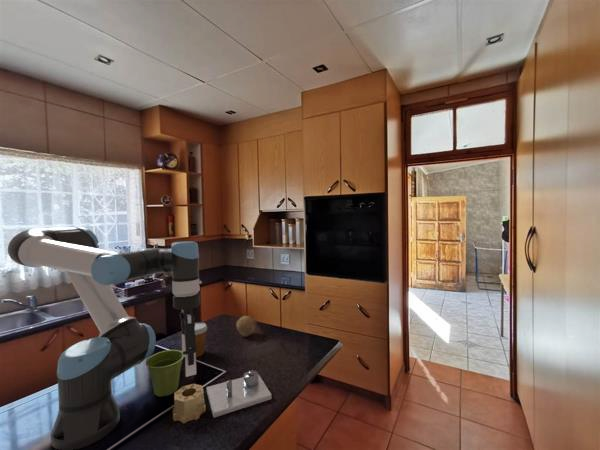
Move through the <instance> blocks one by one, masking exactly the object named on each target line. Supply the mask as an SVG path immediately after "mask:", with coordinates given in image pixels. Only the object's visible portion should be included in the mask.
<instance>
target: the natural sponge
mask: <svg viewBox="0 0 600 450" xmlns="http://www.w3.org/2000/svg"><path fill="white" fill-rule="evenodd" d="M255 326H256V325H255V321H254V319H253V318H252V317H251V316H249V315H243V316H241V317H239V319H238V320H237V321H236V330H237V331H238V333H239V334H240V335H241V336H242V337H244V338H245V337H246V338H247V337H248V336H250V335H252V334H254V332H255V330H256V327H255Z"/></svg>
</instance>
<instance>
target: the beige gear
mask: <svg viewBox="0 0 600 450" xmlns="http://www.w3.org/2000/svg"><path fill="white" fill-rule="evenodd" d="M204 394H205V392H204V387H203V385H201V384H197V383H191V384H187V385H183V386H181V387H179V389H177V390H176V391H175V392H174V393H173V395H174V396H173V398H174V399H173V401H174V403H173V405H174V407H173V408H172V419H173V422H176V421H179V422H181V423H182V424H187V423H188V422H190V421H193V420H195V421H196V420H198V419H200V416H201V415H202V414H203V413H206V411H207V406H206V404H205V403H206V402H205V395H204Z"/></svg>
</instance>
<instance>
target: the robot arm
mask: <svg viewBox="0 0 600 450" xmlns="http://www.w3.org/2000/svg"><path fill="white" fill-rule="evenodd" d="M98 244H99V239H98V237H97V235H96V234H95V233H94V232H93V231H92V230H91V229H88V228H86V227H84V226H83V227H82V226H81V227H80V226H79V227H77V226H69V227H41V228H40V227H37V228H29V229H27V230H23V231H21V232H19V233H18V234H16V235H14V236H13V237H12V238H11V239H10V241H9V243H8V247H7V253H8V256H9V258H10V259H11V260H12V261H13V262H15V263H17V264H18V265H21V266H23V267H28V268H42V267H47V268H51V269H55V270H57V271H59V272H61V273H66V275H67V277H68V278H69V280H70V282H71V283H72V286H73V287H74V289H75V291H76V292H77V294H78V296H79V297H80V300H81V301H82V303H83V305H84V306H85V308H86V309H87V311H88V313H89V315H90V317H91V319H92V320H93V322H94V324H95V326H96V327H97V329H98V331H99V335H98V336H97V337H91V338H90V339H84V340H81V341H79V342H77V343H75V344H73V345H71V346H69V347H68V348H67V349H65V350H64V351H63V352H62V353H61V354H60V355H59V358H58V360H57V370H56V377H57V387H58V388H57V391H58V393H57V394H58V412H57V416H56V418H55V421H54V424H53V427H52V430H51V434H50V443H51V444H50V445H51V447H52V446H53V447H54V448H56V449H62V450H71V449H72V450H73V449H75V450H79V449H82V448H86V447H87V446H89V445H91V444H94V443H95V442H98V441H99V440H102V439H103V438H105V437H106V436H108V434H110V433H111V432H112V431H113V430H115V428H116V427H117V425H118V424H119V422H120V417H121V414H120V413H121V412H120V408H119V404H118V403H117V401H116V399H115V397H114V394H113V393H112V392H113V391H112V390H113V389H112V380H113V379H115V378H117V377H119V376H121V375H122V374H123V373H125V372H127V371H128V370H129V371H130V370H131V369H132V368H135V366H137V365H140V364H141V363H143V362H144V361H145V360H147V359H148V358H149V357H151V356H152V355H153V353H154V350H155V347H156V344H157V343H156V342H157V341H156V340H157V339H156V334H155V331H154V329H153V328H152V326H151V325H149V324H147V323H140V322H139V321H138V319H137V317H134V316H130V315H128V313H127V311H126V310H125V308H124V306H123V304H122V303H121V301H120V300H119V298H118V296H117V295H116V293H115V291H114V290H113V288H112V286H111V285H118V284H121V283H125V282H128V281H132V280H136V279H140V278H144V277H148V276H153V275H156V274H171V277H172V280H171V284H172V285H171V286H172V287H171V288H172V290H171V291H172V294H173V296H172V307H173V309H175V310H177V311H180V310H181V312H179V318H180V329H181V351H182V356H184V358H185V359H184V360H185V377H186V378H187V377H190V376H196V375H197V357H196V351H197V349H196V341H195V323H196V322H195V321H196V320H195V319H196V313H195V311H194V310H193V309H194V308H195V309H196V308H197V307H199V306H200V305H201V293H200V291H201V290H200V289H201V287H200V285H201V284H203V282H202V280H200V254H199V253H200V252H199V244H198V243H197V242H196V241H175V242H174V241H173V242H172V243H171V246H170V248H164V247H163V248H158V247H157V248H156V247H149V248H148V247H147V248H143V249H141V250H136V251H130V252H129V251H128V252H119V251H112V250H108V249H103V248H102V249H101V248H100V246H99V245H98ZM53 447H52V448H53ZM54 448H53V449H54ZM56 449H55V450H56Z"/></svg>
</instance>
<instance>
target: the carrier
mask: <svg viewBox="0 0 600 450" xmlns="http://www.w3.org/2000/svg"><path fill="white" fill-rule="evenodd" d="M205 390H206V392H205V393H206V395H207V398H208V402H209V405H210V406H209V407H210V410H211V414H212V417H213V418H217V417H221V416H224V415H226V414H229V413H233V412H236V411H238V410H241V409H245V408H249V407H252V406H254V405H257V404H261V403H263V402H267V401H270V400H272V393H271V391H270V390H269V389H268V386H267V385H266V383H265V382H264V381H263V378H262V377H261V375H260V374H259V372H258V371H256V370H254V369H250V370H248V371H246V372H244V374H243V376H242V377H239V378H235V379H227V380H226V381H224V382H221V383H217V384H214V385H210V386H206V389H205Z"/></svg>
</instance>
